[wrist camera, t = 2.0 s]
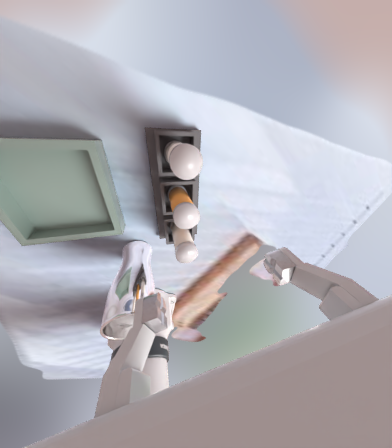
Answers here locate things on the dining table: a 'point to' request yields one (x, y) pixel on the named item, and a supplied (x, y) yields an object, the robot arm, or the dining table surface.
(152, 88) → the dining table surface
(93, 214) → the parts tray
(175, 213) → the cylinder
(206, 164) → the dining table surface
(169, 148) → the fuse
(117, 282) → the beer glass
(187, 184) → the fuse block
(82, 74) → the dining table surface
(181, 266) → the dining table surface
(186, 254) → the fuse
